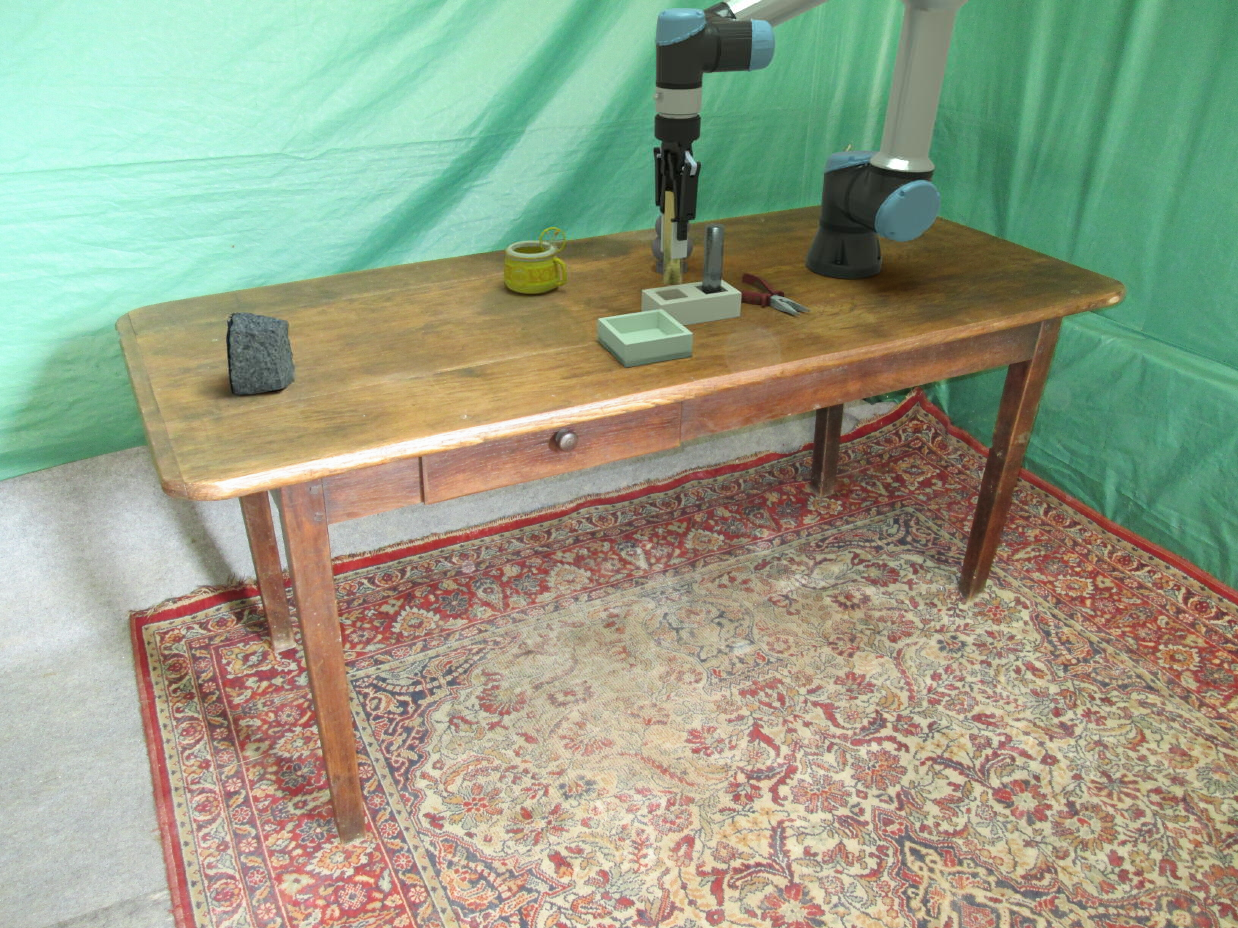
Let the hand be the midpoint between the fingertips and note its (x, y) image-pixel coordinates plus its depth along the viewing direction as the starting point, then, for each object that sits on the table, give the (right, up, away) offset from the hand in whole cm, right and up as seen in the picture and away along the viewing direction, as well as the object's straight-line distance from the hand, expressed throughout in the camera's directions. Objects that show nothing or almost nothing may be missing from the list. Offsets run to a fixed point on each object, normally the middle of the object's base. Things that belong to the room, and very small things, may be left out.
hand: (673, 253), depth 172 cm
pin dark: (+7, -9, +9) cm, 14 cm away
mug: (-25, -3, +19) cm, 32 cm away
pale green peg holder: (+4, -10, +7) cm, 13 cm away
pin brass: (0, -4, +3) cm, 5 cm away
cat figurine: (+1, +3, +29) cm, 29 cm away
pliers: (+16, -7, +14) cm, 22 cm away
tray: (-5, -17, -6) cm, 19 cm away
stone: (-64, -24, -19) cm, 71 cm away
